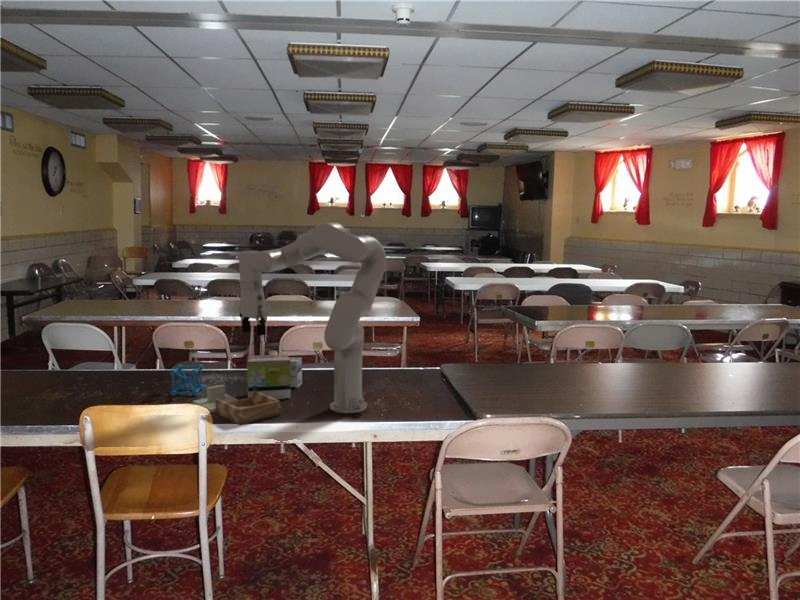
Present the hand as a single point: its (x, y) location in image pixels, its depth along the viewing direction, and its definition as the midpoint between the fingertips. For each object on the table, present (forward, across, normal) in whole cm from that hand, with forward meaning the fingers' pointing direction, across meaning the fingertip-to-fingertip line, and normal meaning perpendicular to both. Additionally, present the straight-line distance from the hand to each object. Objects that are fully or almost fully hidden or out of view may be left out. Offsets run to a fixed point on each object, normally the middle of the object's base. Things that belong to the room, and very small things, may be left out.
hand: (253, 333), depth 219 cm
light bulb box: (+24, +7, -18) cm, 31 cm away
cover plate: (+23, +2, +14) cm, 27 cm away
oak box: (+24, -13, +12) cm, 30 cm away
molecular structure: (+23, +24, +15) cm, 36 cm away
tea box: (+24, -1, -4) cm, 25 cm away
